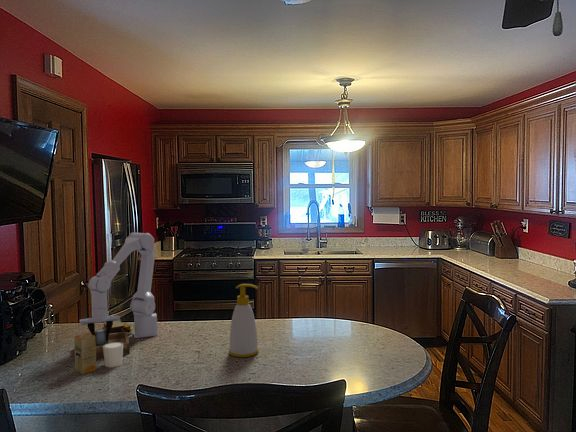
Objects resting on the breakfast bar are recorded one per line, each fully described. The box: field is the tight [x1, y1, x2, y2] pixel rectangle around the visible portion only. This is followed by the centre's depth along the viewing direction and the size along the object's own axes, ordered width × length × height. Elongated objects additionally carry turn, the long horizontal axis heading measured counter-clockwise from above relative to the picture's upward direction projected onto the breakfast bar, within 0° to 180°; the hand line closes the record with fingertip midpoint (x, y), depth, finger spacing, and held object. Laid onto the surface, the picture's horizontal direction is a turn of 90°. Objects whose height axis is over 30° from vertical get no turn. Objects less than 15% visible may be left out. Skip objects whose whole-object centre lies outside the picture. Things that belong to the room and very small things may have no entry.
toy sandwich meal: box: [101, 320, 134, 336], centre depth 198 cm, size 12×14×5 cm
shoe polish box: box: [73, 332, 97, 375], centre depth 157 cm, size 5×5×12 cm
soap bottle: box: [228, 283, 259, 358], centre depth 172 cm, size 11×12×26 cm
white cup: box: [103, 342, 124, 368], centre depth 162 cm, size 7×7×7 cm
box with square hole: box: [96, 332, 131, 359], centre depth 177 cm, size 18×16×4 cm
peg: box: [95, 329, 106, 346], centre depth 179 cm, size 4×4×6 cm
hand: (100, 341), depth 179 cm, fingers closed on peg, 4 cm apart
